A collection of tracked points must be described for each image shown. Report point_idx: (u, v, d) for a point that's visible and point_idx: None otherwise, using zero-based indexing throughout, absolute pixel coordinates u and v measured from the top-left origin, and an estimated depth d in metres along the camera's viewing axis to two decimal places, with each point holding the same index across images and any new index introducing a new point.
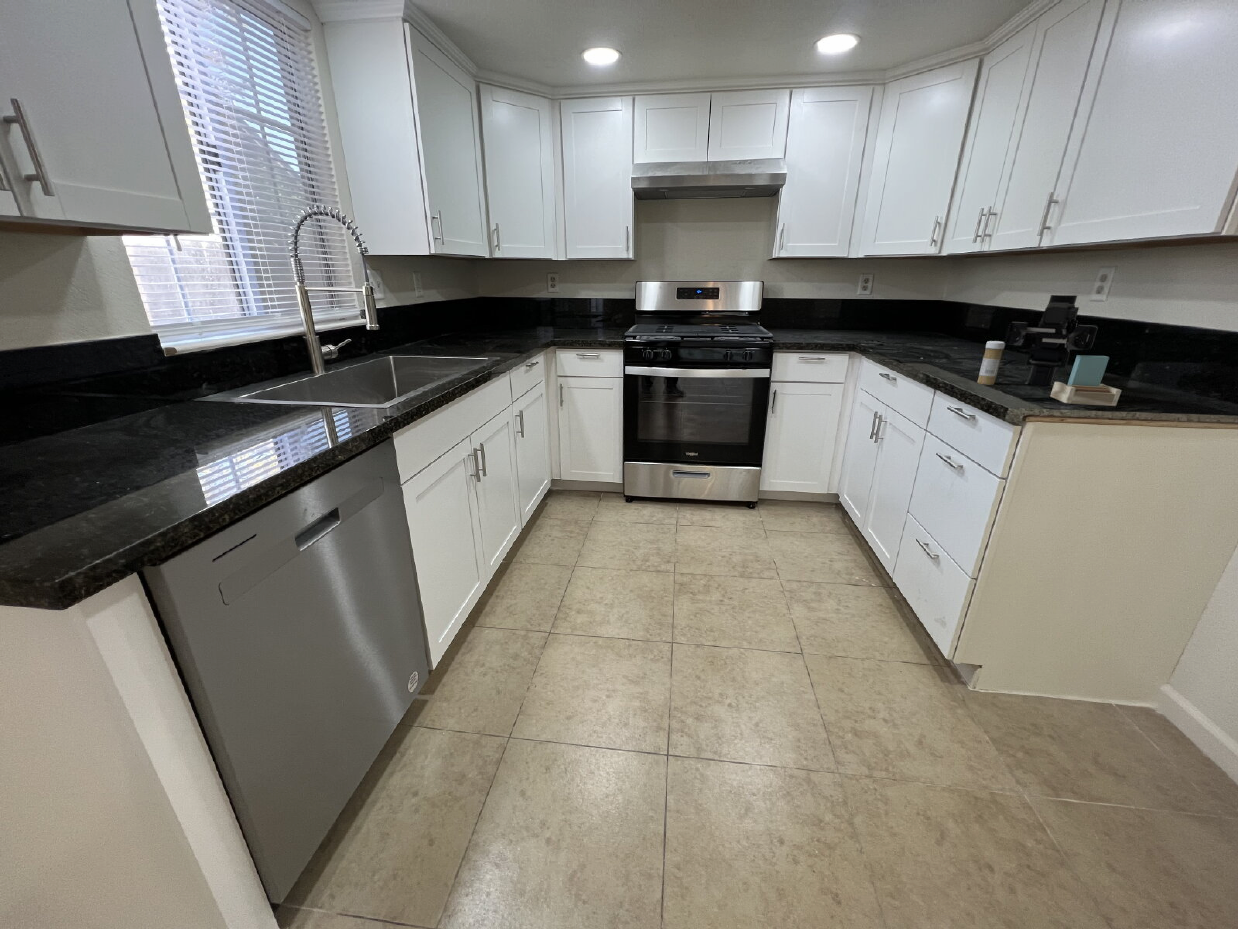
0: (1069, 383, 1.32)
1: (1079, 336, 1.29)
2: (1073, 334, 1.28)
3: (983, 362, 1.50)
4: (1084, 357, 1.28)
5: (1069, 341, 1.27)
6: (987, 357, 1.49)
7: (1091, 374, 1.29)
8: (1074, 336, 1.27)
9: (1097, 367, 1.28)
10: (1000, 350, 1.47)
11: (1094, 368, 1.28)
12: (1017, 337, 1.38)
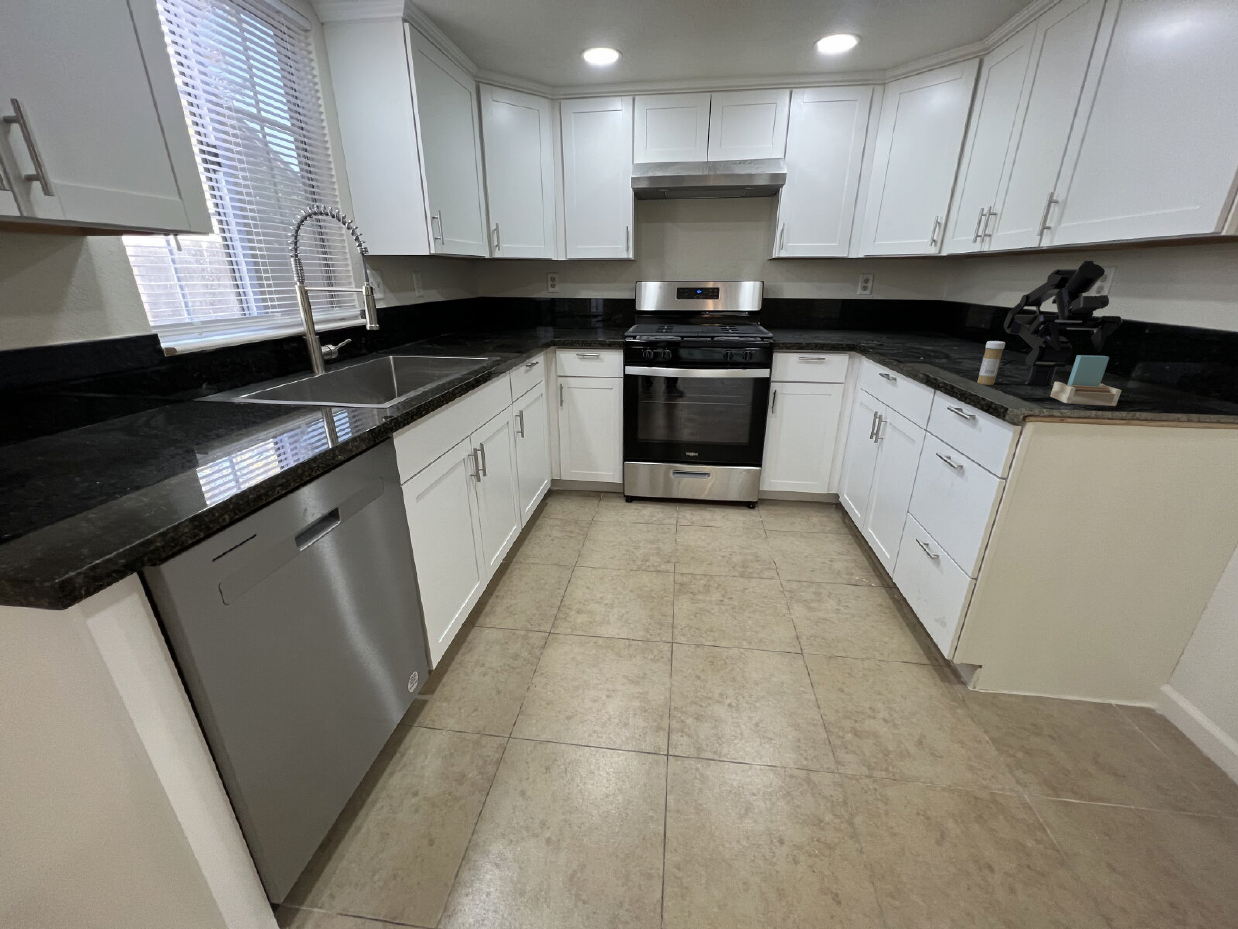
0: (1069, 383, 1.32)
1: None
2: (1103, 338, 1.33)
3: (983, 362, 1.50)
4: (1084, 357, 1.28)
5: None
6: (987, 357, 1.49)
7: (1091, 374, 1.29)
8: None
9: (1097, 367, 1.28)
10: (1000, 350, 1.47)
11: (1094, 368, 1.28)
12: (1046, 332, 1.39)
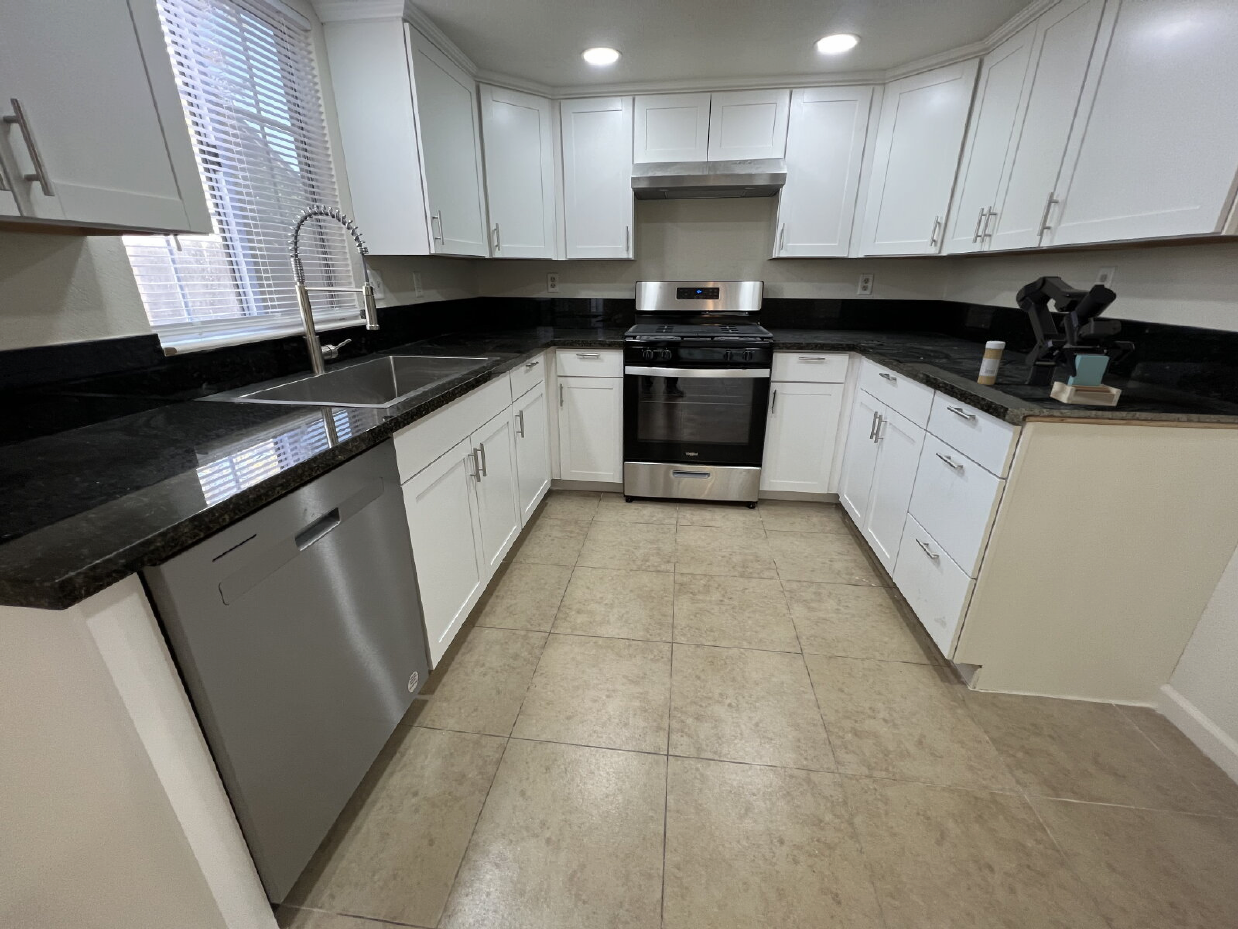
0: (1069, 383, 1.32)
1: None
2: (1107, 365, 1.28)
3: (983, 362, 1.50)
4: (1084, 357, 1.28)
5: None
6: (987, 357, 1.49)
7: (1091, 374, 1.29)
8: None
9: (1097, 367, 1.28)
10: (1000, 350, 1.47)
11: (1094, 368, 1.28)
12: (1060, 358, 1.33)
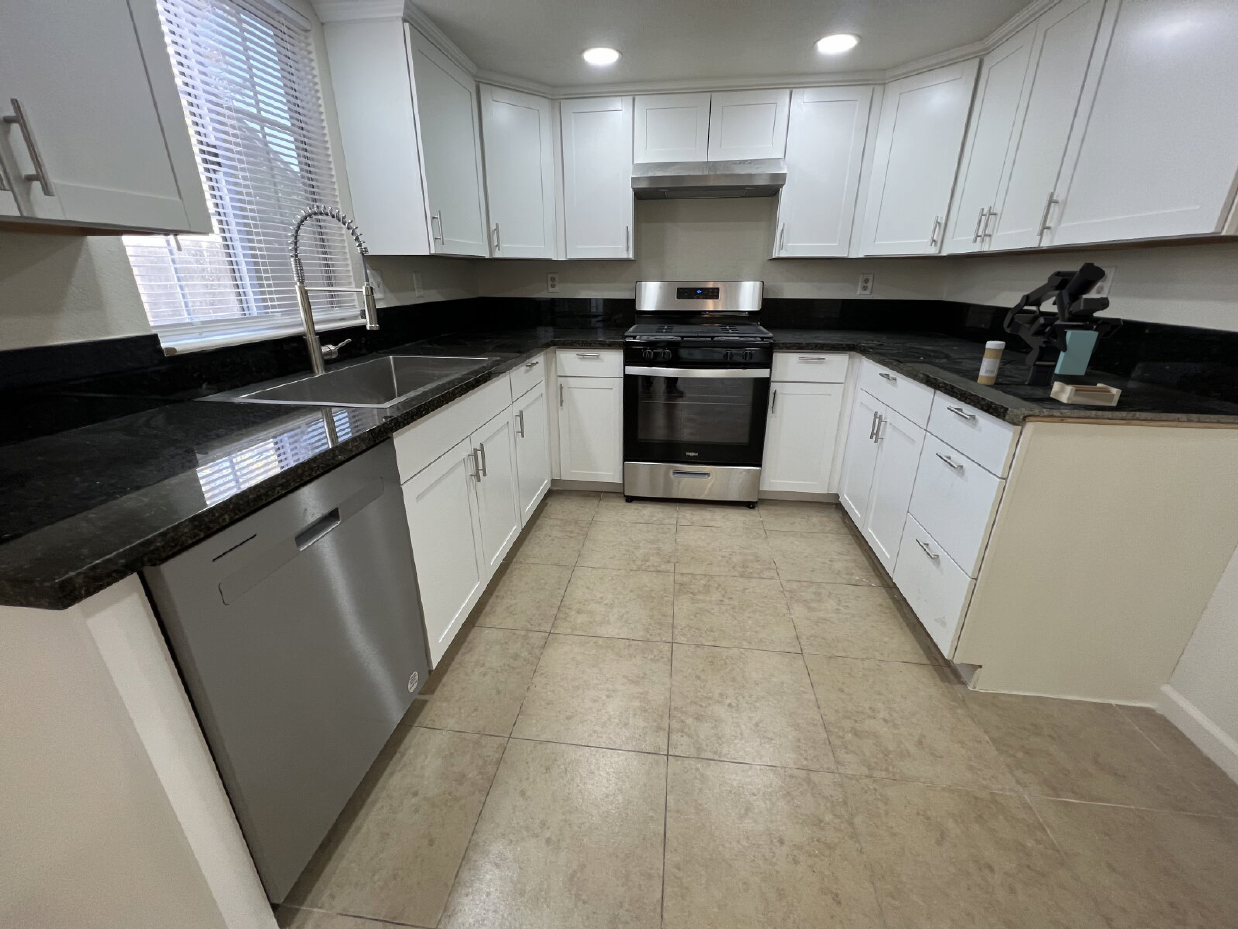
0: (1060, 358, 1.37)
1: None
2: (1097, 340, 1.33)
3: (983, 362, 1.50)
4: (1074, 332, 1.33)
5: None
6: (987, 357, 1.49)
7: (1081, 349, 1.34)
8: None
9: (1087, 342, 1.33)
10: (1000, 350, 1.47)
11: (1084, 343, 1.33)
12: (1052, 334, 1.38)
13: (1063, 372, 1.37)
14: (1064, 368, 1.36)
